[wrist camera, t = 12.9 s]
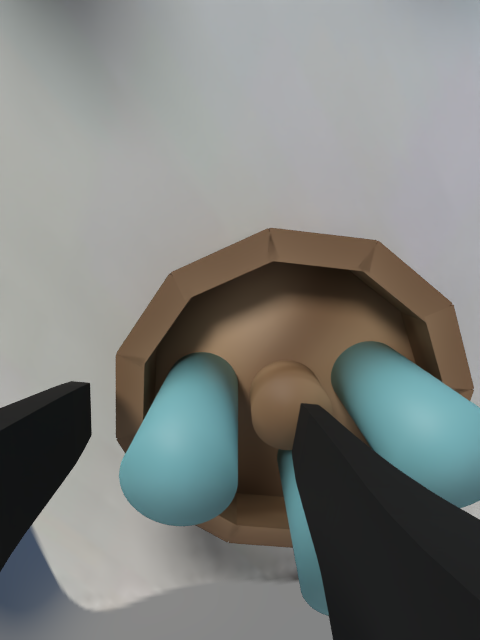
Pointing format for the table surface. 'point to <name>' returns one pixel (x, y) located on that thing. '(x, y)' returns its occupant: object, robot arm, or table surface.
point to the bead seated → (412, 419)
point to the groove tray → (283, 347)
